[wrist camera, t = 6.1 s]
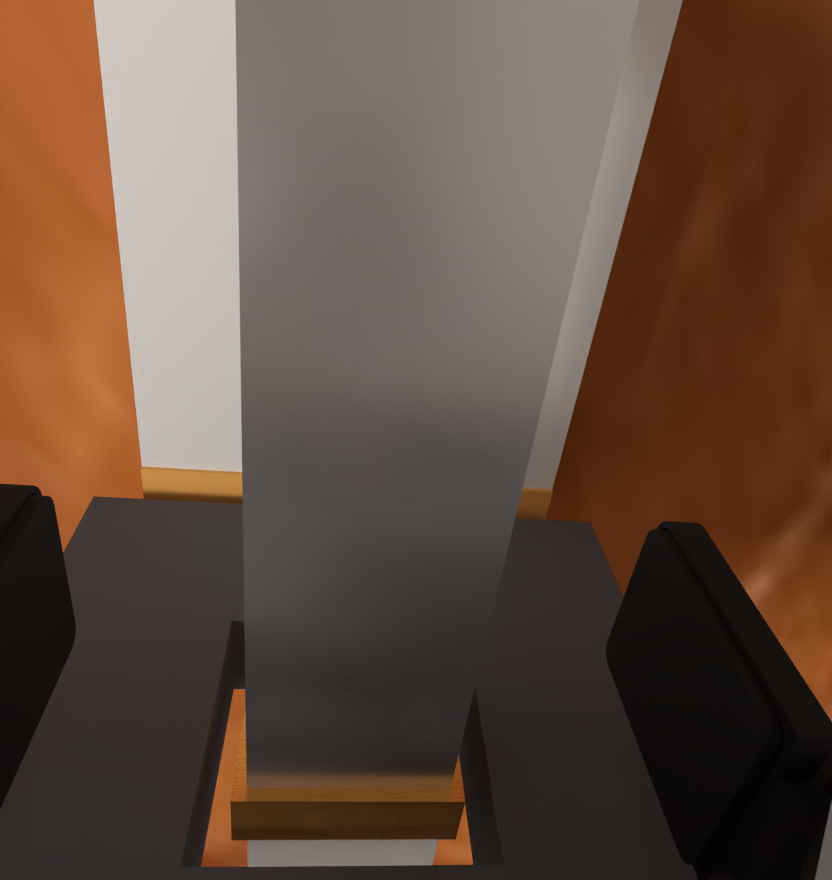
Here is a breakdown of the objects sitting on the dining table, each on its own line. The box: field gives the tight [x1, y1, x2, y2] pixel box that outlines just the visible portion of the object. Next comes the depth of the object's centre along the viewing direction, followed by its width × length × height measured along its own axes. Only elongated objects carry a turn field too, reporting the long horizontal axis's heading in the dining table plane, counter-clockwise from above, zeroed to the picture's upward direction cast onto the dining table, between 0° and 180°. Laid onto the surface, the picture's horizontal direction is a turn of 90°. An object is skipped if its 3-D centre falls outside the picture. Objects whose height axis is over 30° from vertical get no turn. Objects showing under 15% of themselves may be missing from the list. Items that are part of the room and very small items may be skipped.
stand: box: [94, 0, 683, 520], centre depth 14 cm, size 20×10×6 cm, turn 173°
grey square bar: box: [230, 0, 639, 867], centre depth 10 cm, size 19×3×3 cm, turn 173°
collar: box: [0, 497, 698, 880], centre depth 12 cm, size 2×12×12 cm, turn 83°
